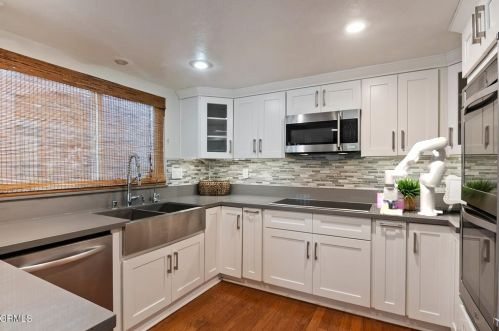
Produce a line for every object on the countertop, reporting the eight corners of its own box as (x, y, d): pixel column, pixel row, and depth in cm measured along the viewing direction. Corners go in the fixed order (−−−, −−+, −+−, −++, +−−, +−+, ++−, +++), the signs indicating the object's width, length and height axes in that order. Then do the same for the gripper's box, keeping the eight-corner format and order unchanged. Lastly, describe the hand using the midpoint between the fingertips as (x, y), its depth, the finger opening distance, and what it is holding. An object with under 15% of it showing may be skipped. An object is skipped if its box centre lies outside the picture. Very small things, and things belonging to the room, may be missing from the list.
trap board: (402, 212, 216) (402, 208, 216) (401, 215, 206) (401, 211, 206) (381, 210, 224) (381, 207, 224) (380, 213, 214) (380, 209, 214)
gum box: (375, 207, 242) (375, 192, 242) (383, 206, 244) (383, 192, 244) (396, 212, 219) (396, 195, 219) (404, 211, 221) (404, 195, 221)
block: (387, 209, 215) (387, 204, 215) (387, 209, 212) (387, 204, 212) (382, 208, 217) (382, 203, 217) (382, 209, 214) (382, 204, 214)
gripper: (401, 185, 212) (401, 208, 212) (380, 185, 219) (380, 207, 219) (400, 186, 205) (401, 210, 205) (379, 186, 213) (379, 208, 213)
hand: (390, 208), depth 212 cm, fingers closed
